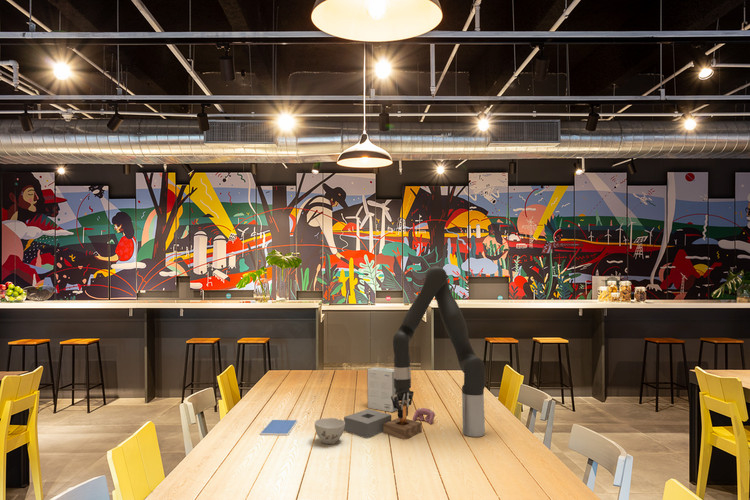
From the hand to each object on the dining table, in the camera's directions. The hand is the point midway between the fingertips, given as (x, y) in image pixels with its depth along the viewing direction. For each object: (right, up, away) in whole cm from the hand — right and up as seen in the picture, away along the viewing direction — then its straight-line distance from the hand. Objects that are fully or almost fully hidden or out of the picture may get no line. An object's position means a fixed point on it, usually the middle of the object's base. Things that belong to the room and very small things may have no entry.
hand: (402, 416), depth 193 cm
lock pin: (0, -5, 0) cm, 5 cm away
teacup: (-31, -6, -10) cm, 33 cm away
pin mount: (0, -7, -1) cm, 7 cm away
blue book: (-55, -8, +6) cm, 56 cm away
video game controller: (+11, -8, +15) cm, 20 cm away
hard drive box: (-8, -9, +35) cm, 37 cm away
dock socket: (-15, -7, +3) cm, 17 cm away
